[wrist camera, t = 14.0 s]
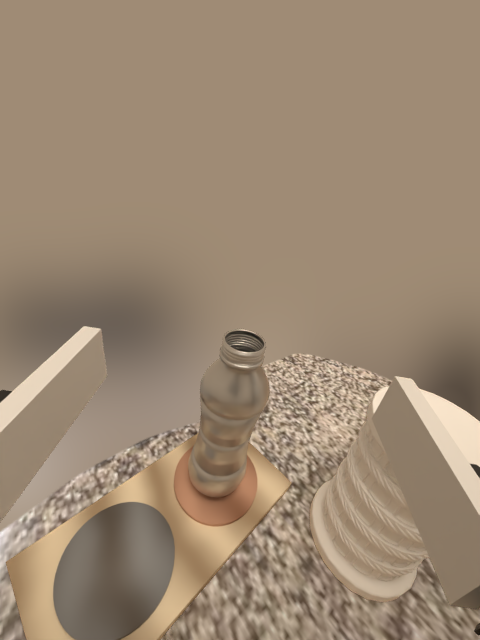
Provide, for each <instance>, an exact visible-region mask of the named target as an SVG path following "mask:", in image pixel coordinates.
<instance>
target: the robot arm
mask: <svg viewBox="0 0 480 640" xmlns="http://www.w3.org/2000/svg"><path fill="white" fill-rule="evenodd" d="M106 377H107V370H106V363H105V356H104V348H103V340H102V332H101V329H98V328H91V327H85V326H84V327H83V328H82V329H80V330H79V331H78V332H77V333H76V334H75V335H74V336H73V337H72V338H71V339H70V340H68V341H67V342H66V343H65V344H64V345H63V346H62V347H61V348H60V349H58V350H57V351H56V353H54V354H53V355H52V356H51V357H50V358H49V359H48V360H47V361H45V362H44V363H43V364H42V365H41V366H40V367H39V368H38V369H37V370H36V371H34V373H32V374H31V375H30V376H29V377H28V378H27V379H26V380H25V381H23V383H21V384H20V385H19V386H18V387H17V388H16V389H15V390H14V391H13V392H12V391H6V390H1V391H0V523H1V521H2V520H3V518H4V517H5V516H6V514H7V513H8V512H9V510H10V509H11V507H12V506H13V505H14V503H15V502H16V501H17V499H18V498H19V497H20V495H21V494H22V492H23V491H24V490H25V488H26V487H27V486H28V484H29V483H30V481H31V480H32V479H33V477H34V476H35V475H36V473H37V472H38V470H39V469H40V468H41V466H42V465H43V464H44V462H45V461H46V460H47V458H48V457H49V455H50V454H51V453H52V451H53V450H54V448H55V447H56V446H57V444H58V443H59V442H60V440H61V439H62V438H63V436H64V435H65V433H66V432H67V430H68V429H69V428H70V427H71V425H72V424H73V423H74V421H75V420H76V418H77V417H78V416H79V414H80V413H81V411H82V410H83V409H84V408H85V406H86V405H87V403H88V402H89V401H90V399H91V398H92V396H93V395H94V394H95V392H96V391H97V390H98V388H99V387H100V386H101V384H102V383H103V381H104V380H105V379H106ZM372 421H373V423H374V426H375V428H376V430H377V433H378V435H379V438H380V440H381V442H382V445H383V447H384V450H385V452H386V454H387V457H388V459H389V462H390V464H391V466H392V469H393V471H394V474H395V476H396V478H397V481H398V483H399V486H400V488H401V490H402V493H403V495H404V498H405V500H406V502H407V505H408V507H409V510H410V512H411V514H412V517H413V519H414V522H415V524H416V526H417V529H418V531H419V534H420V536H421V538H422V541H423V543H424V546H425V548H426V550H427V553H428V555H429V558H430V560H431V562H432V565H433V567H434V570H435V572H436V574H437V577H438V579H439V582H440V584H441V586H442V589H443V591H444V594H445V596H446V598H447V601H448V603H449V605H451V606H457V607H463V608H470V609H477V608H479V607H480V467H479V466H478V465H476V464H469V462H468V461H467V459H466V458H465V456H464V455H463V453H462V452H461V450H460V449H459V447H458V446H457V444H456V443H455V441H454V440H453V438H452V437H451V436H450V434H449V433H448V431H447V430H446V428H445V427H444V425H443V424H442V422H441V421H440V419H439V418H438V416H437V415H436V413H435V412H434V410H433V409H432V408H431V406H430V405H429V403H428V402H427V400H426V399H425V397H424V396H423V394H422V393H421V391H420V390H419V388H418V387H417V385H416V384H415V382H414V381H413V380H412V379H409V378H403V377H397V376H395V377H394V379H393V381H392V383H391V384H390V386H389V388H388V390H387V392H386V393H385V395H384V397H383V399H382V401H381V402H380V404H379V406H378V408H377V410H376V411H375V413H374V415H373V417H372ZM474 632H475V633H476V634H478V635H480V623H479V624H478V625H477V626H476V628H475V630H474Z"/></svg>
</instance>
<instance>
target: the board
mask: <svg viewBox="0 0 480 640" xmlns="http://www.w3.org/2000/svg"><path fill="white" fill-rule="evenodd" d="M197 436H198V433H197V434H196V435H194V436H193V437H191V438H190V439H188V440H187V441H185V442H184V443H182V444H181V445H179V446H178V447H177V448H175V449H174V450H172V451H171V452H169V453H168V454H166V455H165V456H163V457H162V458H160V459H159V460H157V461H156V462H154V463H153V464H151V465H150V466H148V467H147V468H145V469H144V470H142V471H141V472H139V473H138V474H136V475H135V476H133V477H132V478H130V479H129V480H127V481H126V482H124V483H123V484H121V485H120V486H118V487H117V488H115V489H114V490H112V491H111V492H109V493H108V494H107V495H105V496H104V497H102V498H101V499H99V500H98V501H96V502H95V503H93V504H92V505H90V506H89V507H87V508H86V509H84V510H83V511H81V512H80V513H78V514H77V515H75V516H74V517H72V518H71V519H69V520H68V521H66V522H65V523H63V524H62V525H60V526H59V527H57V528H56V529H54V530H53V531H51V532H50V533H48V534H47V535H45V536H44V537H42V538H41V539H40V540H38V541H37V542H35V543H34V544H32V545H31V546H29V547H28V548H26V549H25V550H23V551H22V552H20V553H19V554H17V555H16V556H14V557H13V558H11V559H10V560H8V561H7V562H6V565H7V568H8V572H9V576H10V580H11V584H12V587H13V591H14V595H15V599H16V602H17V606H18V610H19V614H20V618H21V621H22V625H23V629H24V633H25V637H26V640H160V639H161V638H162V636H163V635H164V634H165V633H166V632H167V630H168V629H169V628H170V627H171V626H172V625H173V623H174V622H175V621H176V620H177V619H178V618H179V616H180V615H181V614H182V613H183V612H184V611H185V609H186V608H187V607H188V606H189V605H190V604H191V602H192V601H193V600H194V599H195V598H196V597H197V595H198V594H199V593H200V592H201V591H202V590H203V588H204V587H205V586H206V585H207V584H208V583H209V581H210V580H211V579H212V578H213V577H214V576H215V574H216V573H217V572H218V571H219V570H220V568H221V567H222V566H223V565H224V564H225V563H226V561H227V560H228V559H229V558H230V557H231V556H232V554H233V553H234V552H235V551H236V550H237V549H238V547H239V546H240V545H241V544H242V543H243V542H244V540H245V539H246V538H247V537H248V536H249V535H250V533H251V532H252V531H253V530H254V529H255V528H256V526H257V525H258V524H259V523H260V522H261V521H262V519H263V518H264V517H265V516H266V515H267V513H268V512H269V511H270V510H271V509H272V508H273V506H274V505H275V504H276V503H277V502H278V501H279V499H280V498H281V497H282V496H283V495H284V494H285V492H286V491H287V490H288V489H289V488H290V486H291V484H292V483H291V482H290V481H289V480H288V479H287V478H286V477H285V476H284V475H283V474H282V473H281V472H280V471H279V470H278V469H277V468H276V467H274V466H273V465H272V464H271V463H270V462H269V461H268V460H267V459H266V458H265V457H264V456H263V455H262V454H261V453H260V452H259V451H258V450H257V449H256V448H255V447H254V446H253V445H252V444H250V443H248V449H247V465H246V472H245V475H244V478H243V480H242V481H241V483H240V484H239V485H238V487H237V488H236V489H235V490H234V491H233V492H232V493H230V494H229V495H226V496H223V497H210V496H206V495H204V494H202V493H200V492H199V491H198V490H197V489H196V488H195V487H194V486H193V484H192V482H191V480H190V476H189V470H188V461H189V457H190V454H191V452H192V449H193V447H194V445H195V443H196V440H197Z"/></svg>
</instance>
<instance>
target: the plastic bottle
mask: <svg viewBox="0 0 480 640" xmlns="http://www.w3.org/2000/svg"><path fill="white" fill-rule="evenodd" d="M265 348H266V342H265V340H264V339H263V338H262V337H261V336H260V335H258V334H257V333H254V332H252V331H248V330H243V329H235V330H231V331H228V332H227V333H226V334H225V335H224V337H223V342H222V347H221V349H220V355H219V356H220V358H219V359H218V360H216V361H215V362H214V363H213V364H212V365H211V366H210V367H209V368H208V369H207V370H206V372H205V374H204V375H203V377H202V380H201V385H200V401H201V419H200V429H199V433H198V436H197V440H196V443H195V445H194V447H193V449H192V452H191V454H190V457H189V461H188V470H189V476H190V480H191V482H192V484H193V486H194V487H195V488H196V489H197V490H198V491H199V492H200V493H202V494H204V495H206V496H210V497H223V496H226V495H229V494H230V493H232V492H233V491H234V490H235V489H236V488H237V487H238V485H239V484H240V483H241V481H242V480H243V478H244V475H245V472H246V465H247V449H248V443H249V439H250V437H251V434H252V432H253V429H254V426H255V424H256V422H257V420H258V419H259V417H260V415H261V413H262V411H263V409H264V408H265V406H266V403H267V401H268V398H269V394H270V390H269V381H268V379H267V376H266V374H265V372H264V370H263V369H262V367H261V366H262V364H263V361H264V352H265Z"/></svg>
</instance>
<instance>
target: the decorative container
mask: <svg viewBox="0 0 480 640" xmlns="http://www.w3.org/2000/svg"><path fill="white" fill-rule="evenodd" d="M388 388H389V387H385V388H382V389H381V390H379V391H378V392H377V393H376V394H375V396H374V397H373V399H372V401H371V403H370V405H369V407H368V410H367V420H366V421H365V422H364V423H363V425H362V427H361V429H360V432H359V437H358V438H357V439H356V440H355V441H354V442H353V443H352V444H351V446H350V448H349V450H348V454H347V457H346V458H345V459H343V461H342V462H341V464H340V465H339V467H338V470H337V474H336V475H334V476H333V478H332V479H331V480H329V481H327V482H325V483H324V484H323V485H322V486H321V487H320V488H319V489H318V490H317V492H316V494H315V496H314V498H313V500H312V503H311V506H310V513H309V521H310V530H311V534H312V537H313V540H314V543H315V546H316V548H317V550H318V552H319V554H320V556H321V558H322V560H323V561H324V563H325V565H326V566H327V567H328V568H329V570H330V571H331V572H332V573H333V575H334V576H335V577H336V578H337V579H338V580H339V581H340V582H341V583H342V584H344V585H345V586H346V587H347V588H348V589H349V590H351V591H352V592H354V593H356V594H358V595H360V596H361V597H363V598H365V599H367V600H372V601H377V602H387V601H392V600H396V599H397V598H399V597H400V596H401V595H402V594H404V593H405V592H406V591H407V590H409V589H410V588H411V586H412V584H413V582H414V580H415V578H416V576H417V567H418V566H419V565H421V562H422V561H423V560H424V559H425V558H429V555H428V553H427V550H426V548H425V546H424V543H423V541H422V538H421V536H420V534H419V531H418V529H417V526H416V524H415V522H414V519H413V517H412V514H411V512H410V510H409V507H408V505H407V502H406V500H405V498H404V495H403V493H402V490H401V488H400V486H399V483H398V481H397V478H396V476H395V474H394V471H393V469H392V466H391V464H390V462H389V459H388V457H387V454H386V452H385V450H384V447H383V445H382V442H381V440H380V438H379V435H378V433H377V430H376V428H375V426H374V423H373V421H372V417H373V415H374V413H375V411H376V410H377V408H378V406H379V404H380V402H381V401H382V399H383V397H384V395H385V393H386V392H387V390H388ZM419 390H420V391H421V393H422V394H423V396H424V397H425V399H426V400H427V402H428V403H429V405H430V406H431V408H432V409H433V410H434V412H435V413H436V415H437V416H438V418H439V419H440V421H441V422H442V424H443V425H444V427H445V428H446V430H447V431H448V433H449V434H450V436H451V437H452V438H453V440H454V441H455V443H456V444H457V446H458V447H459V449H460V450H461V452H462V453H463V455H464V456H465V458H466V459H467V461H468V462H469V464H476V465H478V466H479V467H480V422H479V421H478V420H477V419H475V418H474V417H473V416H471V415H470V414H469V413H467V412H466V411H464V410H463V409H461V408H460V407H458V406H456V405H455V404H453V403H451V402H450V401H448V400H445V399H443V398H441V397H439V396H437V395H435V394H433V393H430V392H427V391H424V390H421V389H419Z"/></svg>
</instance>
